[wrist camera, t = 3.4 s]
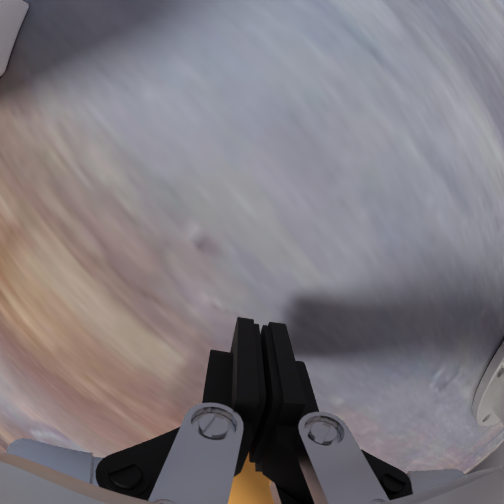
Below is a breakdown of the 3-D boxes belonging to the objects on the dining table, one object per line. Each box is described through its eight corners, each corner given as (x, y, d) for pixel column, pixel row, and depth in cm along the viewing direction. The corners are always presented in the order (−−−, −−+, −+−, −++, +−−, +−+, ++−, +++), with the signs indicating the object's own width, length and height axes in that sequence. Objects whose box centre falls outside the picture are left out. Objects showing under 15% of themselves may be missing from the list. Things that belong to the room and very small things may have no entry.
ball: (288, 431, 14) (298, 511, 9) (266, 474, 15) (269, 539, 10) (190, 418, 14) (173, 500, 8) (186, 464, 15) (174, 530, 10)
